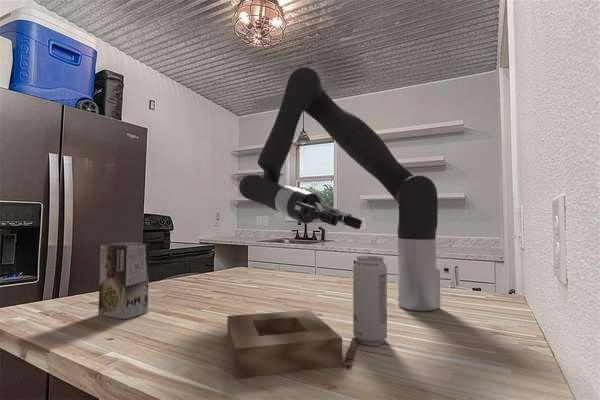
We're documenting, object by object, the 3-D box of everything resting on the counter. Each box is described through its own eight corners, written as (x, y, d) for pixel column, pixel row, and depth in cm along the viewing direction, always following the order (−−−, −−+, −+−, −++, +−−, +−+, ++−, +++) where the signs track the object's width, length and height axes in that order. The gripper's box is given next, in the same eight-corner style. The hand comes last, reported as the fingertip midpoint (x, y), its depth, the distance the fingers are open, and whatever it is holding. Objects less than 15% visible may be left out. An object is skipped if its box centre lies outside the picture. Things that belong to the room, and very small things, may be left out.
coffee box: (149, 312, 76) (151, 243, 77) (123, 320, 70) (126, 245, 71) (122, 308, 80) (125, 241, 81) (96, 315, 74) (99, 243, 75)
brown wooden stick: (352, 335, 61) (360, 336, 60) (352, 341, 61) (360, 342, 60) (341, 363, 48) (350, 364, 48) (341, 370, 48) (351, 371, 48)
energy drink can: (357, 332, 63) (357, 254, 64) (389, 337, 61) (389, 256, 62) (349, 343, 58) (349, 257, 59) (383, 348, 56) (383, 259, 56)
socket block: (309, 330, 65) (309, 309, 65) (342, 365, 49) (342, 337, 50) (227, 338, 60) (227, 315, 60) (234, 378, 45) (235, 348, 45)
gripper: (280, 184, 75) (333, 201, 64) (319, 193, 85) (371, 210, 74) (271, 215, 75) (323, 238, 64) (312, 221, 86) (362, 241, 74)
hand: (349, 223), depth 69 cm, fingers open, 8 cm apart
